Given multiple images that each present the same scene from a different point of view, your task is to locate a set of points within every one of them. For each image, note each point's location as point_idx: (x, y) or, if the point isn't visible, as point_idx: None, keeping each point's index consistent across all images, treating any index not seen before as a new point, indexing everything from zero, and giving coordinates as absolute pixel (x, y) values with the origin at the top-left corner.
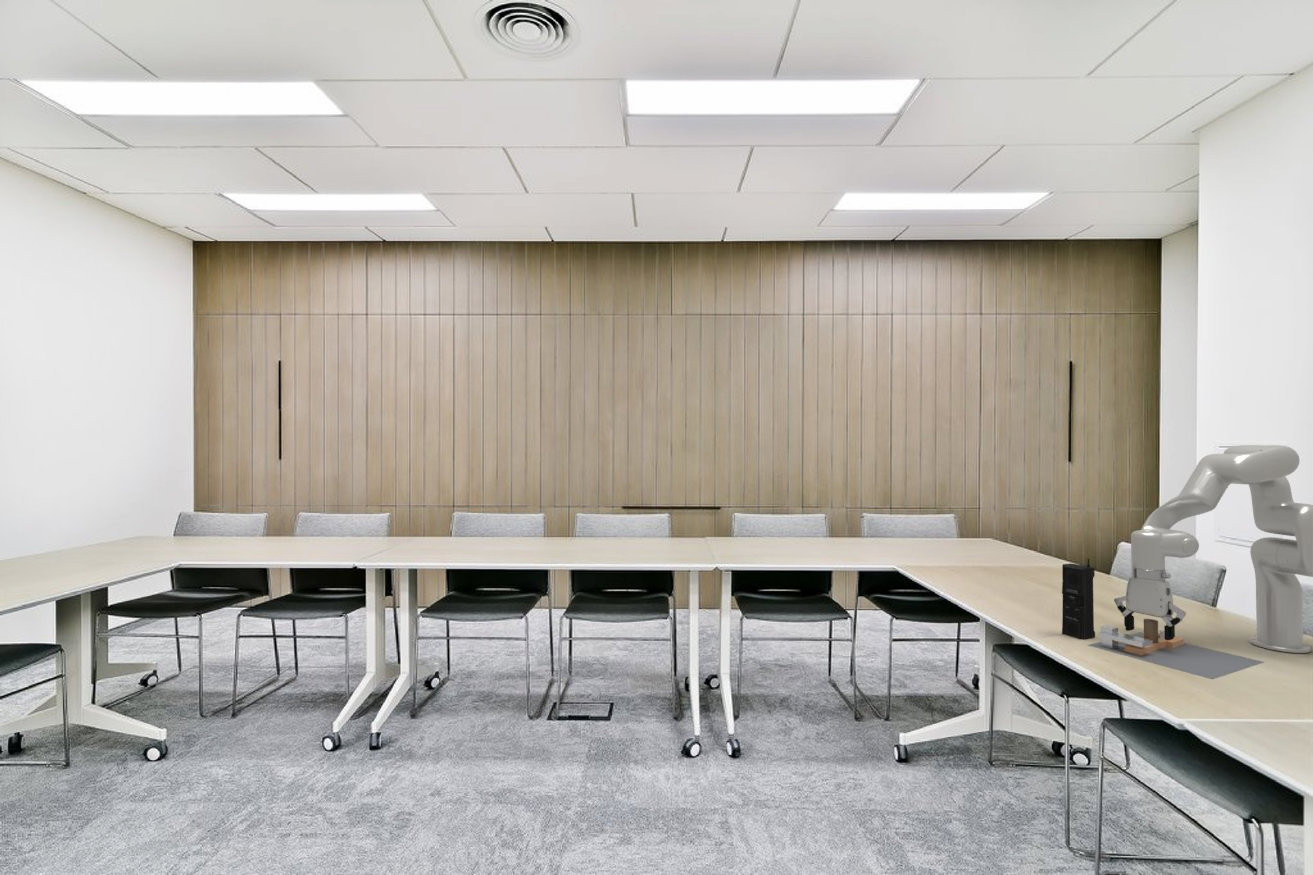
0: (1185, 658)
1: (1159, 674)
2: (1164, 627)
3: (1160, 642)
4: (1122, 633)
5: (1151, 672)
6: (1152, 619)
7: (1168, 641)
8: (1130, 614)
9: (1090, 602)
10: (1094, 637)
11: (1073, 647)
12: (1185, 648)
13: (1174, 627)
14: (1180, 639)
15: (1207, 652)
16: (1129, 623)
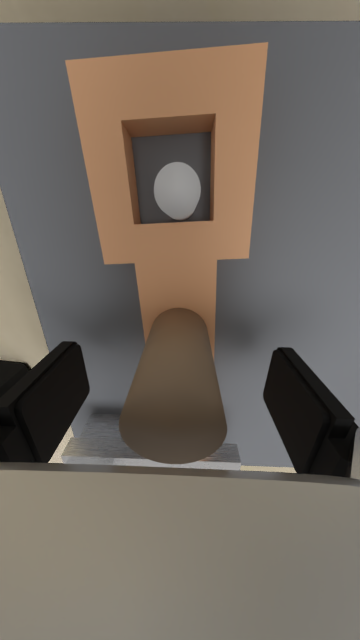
0: (315, 360)
1: (275, 469)
2: (293, 463)
3: (210, 314)
4: (122, 460)
5: (258, 470)
6: (165, 397)
7: (227, 257)
8: (8, 461)
9: None
10: (17, 381)
11: (57, 447)
12: (284, 194)
13: (354, 425)
14: (258, 114)
15: None
16: (68, 416)
